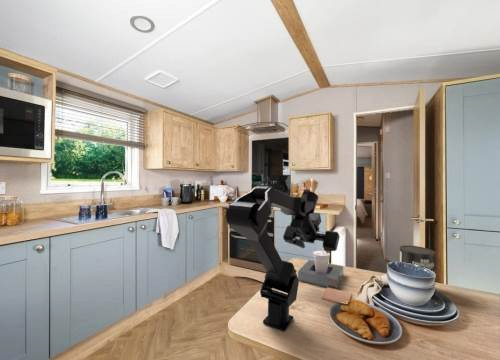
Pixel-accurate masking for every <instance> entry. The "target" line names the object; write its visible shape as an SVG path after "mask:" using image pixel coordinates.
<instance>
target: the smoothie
mask: <svg viewBox="0 0 500 360" xmlns="http://www.w3.org/2000/svg"><path fill="white" fill-rule="evenodd" d="M321 244H322V245H321V250H315V251H313V252H312V256H313V261H315V269H316V272H321V273H325V274H327V269H328V264H329V263H330V262H329V261H330V260H329V259H330V257H331V254H330V252H329V253H327V252H326V251H325V250H324V248H323V241H321Z"/></svg>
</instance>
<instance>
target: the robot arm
mask: <svg viewBox="0 0 500 360" xmlns="http://www.w3.org/2000/svg"><path fill="white" fill-rule="evenodd" d="M318 200H319V195H318V194H316V193H315V192H313V191H311V190H310V188H308V189H307V188H306V189H305V188H304V189H303V192H302V193H301V196H300V197H299V196H291V195H289V194H287V193H285V192H282V191H280V190H278V189H276V188H275V187H274V186H271V185H256V186H254V187H253V188H251V190H250V191H249V192H246V193H245V194H242V195H241V196H238V197H237V198H236V199H235V200H234V201H233V202H231V203H230V204H229V206H228V207H227V209H226V212H225V220H226V223H227V225H229V226H230V227H231V229H232V230H233V231H234V232H236V233H237V234H239V235H240V236H242V237H243V238H245V239H246V240H247V241H248V243H249V246H251V248H252V251H253V252H254V254H255V255H256V256H257V258H258V260H259V262H260V263H261V265H262V266H263V268H264V270H265V272H266V273H265V275H264V280H263V283H262V285H261V287H260V291H259V293H260V297H261V298H263V299H267V315H266V317H265V318H264V319H263V321H262V324H264V325H267V326H269V327H272V328H274V329H278V330H280V331H283V332H284V331H285V332H286V331H287V329H288V328H289V327H290V325H291V323H292V322H293V320H294V319H295V317H294V316H293V315H292V314H291V315H290V306H291V305H293V303H295V302H296V301H297V298H298V297H297V296H298V289H299V283H300V281H299V280H298V270H296V269H295V266H294V264H293V263H292V262H290V261H286V260H282V258H281V255H280V254H279V252H278V250H277V248H276V247H275V244H274V243H273V241H272V239H271V237H270V235H269V233H268V231H267V229H266V227H267V224H268V221H269V217H270V216H271V214H272V207H275V208H279V209H280V212H281V213H283V214H284V215H286V216H291V222H290V223H289V225H287V226H286V228H285V230H284V233H283V236H282V238H283V240H284V242H285V243H288V244H290V245H293V246H296V247H299V248H301V249H305V247H306V245H305V243H307V244H308V243H309V244H312V245H313V244H314V243H315V241H321V242H323V248H324V251H326V252H327V253H330V252H335V251H337V250H338V247H339V242H340V237H341V236H340V234H339V232H338V231H335V230H334V231H332V230H326V231H325V233H319V232H320V225H321V223H322V218H321V214H320V212H315V210H316V206H317V204H318ZM261 203H262V204H261Z"/></svg>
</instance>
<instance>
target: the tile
mask: <svg viewBox="0 0 500 360" xmlns="http://www.w3.org/2000/svg"><path fill="white" fill-rule="evenodd" d="M352 295H353V294H352V292H349V291H344V290H340V289H338V288H337V289H333V288H328V287H325V290H324V292H323V294H322V295H321V297H320V298H321V299H322V300H326V301H329V302H333V303H336V304H338V303H337V302H346V301H349V302H350V301H351V298H352Z"/></svg>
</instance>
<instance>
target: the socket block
mask: <svg viewBox="0 0 500 360" xmlns="http://www.w3.org/2000/svg"><path fill="white" fill-rule="evenodd" d="M297 277H298V280H299V282H304V283H308V284H312V285H317V286H321V287H325V288H327V287H328V288H333V289H337V290H338V287H339V285H340V283H341V281H342V279H343V277H344V266H342V265H337V264H332V263H328V269H327V274H325V273H321V272H316V269H315V261H314V260H311V259H308V261H307V262H305V263H304V264H303V266H301V267H300V269H298V270H297Z"/></svg>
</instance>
